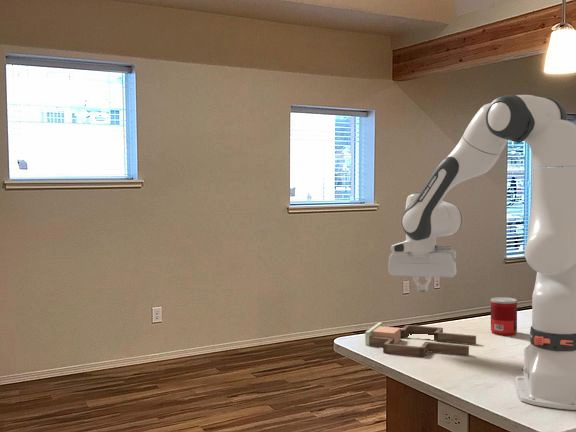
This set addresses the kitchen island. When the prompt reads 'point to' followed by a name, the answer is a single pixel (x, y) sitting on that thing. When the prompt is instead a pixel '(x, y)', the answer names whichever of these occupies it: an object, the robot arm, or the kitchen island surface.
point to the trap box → (427, 346)
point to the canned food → (504, 316)
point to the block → (387, 333)
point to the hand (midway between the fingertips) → (422, 291)
